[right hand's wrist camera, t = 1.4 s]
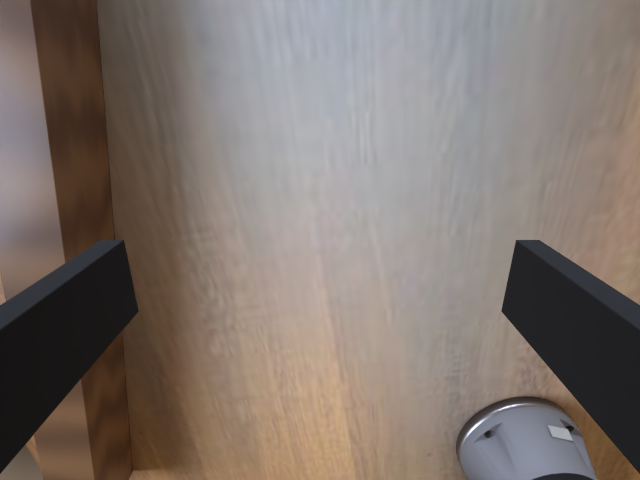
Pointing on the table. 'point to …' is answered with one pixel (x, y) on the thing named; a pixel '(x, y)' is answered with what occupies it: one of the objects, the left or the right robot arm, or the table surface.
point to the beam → (60, 208)
